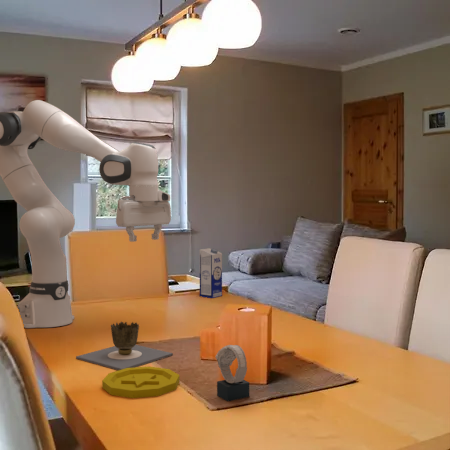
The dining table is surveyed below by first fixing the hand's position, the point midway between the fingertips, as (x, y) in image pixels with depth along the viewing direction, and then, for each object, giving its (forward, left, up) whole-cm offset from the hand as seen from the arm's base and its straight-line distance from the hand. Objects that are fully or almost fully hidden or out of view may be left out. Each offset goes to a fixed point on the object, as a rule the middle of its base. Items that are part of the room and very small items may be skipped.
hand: (144, 240), depth 183 cm
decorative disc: (+35, -35, -30) cm, 58 cm away
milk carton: (-25, +62, -29) cm, 73 cm away
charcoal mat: (+15, -22, -29) cm, 39 cm away
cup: (+15, -22, -28) cm, 39 cm away
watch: (+56, -28, -29) cm, 69 cm away
